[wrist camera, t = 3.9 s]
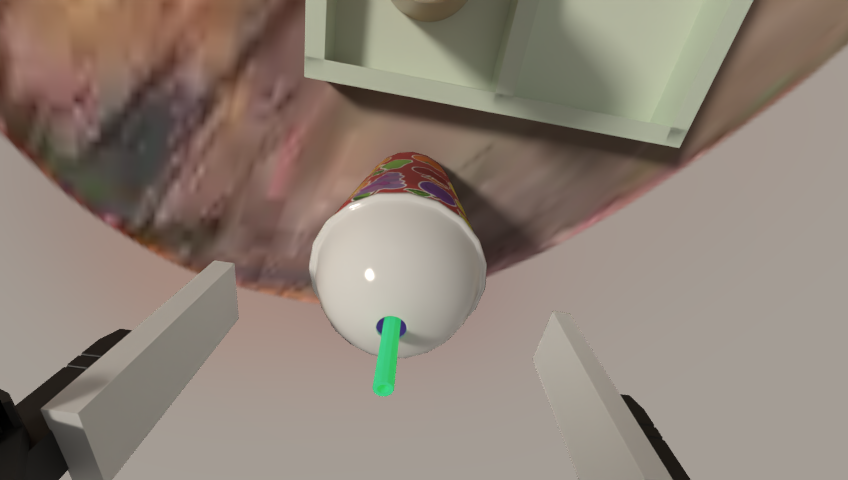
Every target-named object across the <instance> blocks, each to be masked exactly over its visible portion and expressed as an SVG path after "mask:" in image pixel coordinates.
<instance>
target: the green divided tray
mask: <svg viewBox="0 0 848 480" xmlns="http://www.w3.org/2000/svg"><path fill="white" fill-rule="evenodd" d="M752 2H753V0H468V1H467V2H466V4H465V5H464V6H463V7H462V8H461V9H460V10H459V11H458V12H456V13H455V14H454V15H452V16H450V17H448V18H446V19H444V20H441V21H436V22H421V21H418V20H414V19H412V18H410V17H408V16H406V15H405V14H403V13H402V12H401V11H400V10H399V9H397V7H396V6H395V5H394V4H393V3H392V1H391V0H306V13H305V72H304V77H307V78H313V79H318V80H323V81H329V82H334V83H339V84H344V85H350V86H355V87H360V88H365V89H371V90H376V91H381V92H387V93H392V94H397V95H402V96H408V97H413V98H418V99H423V100H429V101H434V102H439V103H444V104H450V105H455V106H460V107H466V108H471V109H476V110H481V111H487V112H492V113H497V114H502V115H508V116H513V117H518V118H524V119H529V120H534V121H539V122H545V123H550V124H555V125H560V126H566V127H571V128H576V129H581V130H587V131H592V132H597V133H603V134H608V135H613V136H618V137H624V138H629V139H634V140H639V141H645V142H650V143H655V144H660V145H666V146H671V147H676V148H680V146H681V144H682V142H683V140H684V138H685V136H686V134H687V132H688V130H689V128H690V126H691V124H692V122H693V120H694V118H695V116H696V114H697V112H698V110H699V108H700V106H701V104H702V102H703V100H704V98H705V96H706V94H707V92H708V90H709V88H710V86H711V84H712V82H713V80H714V78H715V76H716V74H717V72H718V70H719V68H720V66H721V64H722V62H723V60H724V58H725V56H726V54H727V52H728V50H729V48H730V46H731V44H732V42H733V40H734V38H735V36H736V34H737V32H738V30H739V28H740V26H741V24H742V22H743V20H744V18H745V16H746V14H747V12H748V10H749V8H750V6H751V4H752Z"/></svg>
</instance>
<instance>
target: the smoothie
mask: <svg viewBox="0 0 848 480" xmlns="http://www.w3.org/2000/svg"><path fill="white" fill-rule="evenodd" d="M486 269H487V263H486V260H485V257H484V253H483V250H482V247H481V243H480V240H479V239H478V238H477V236H476V235H475V234H474V232H473V229H472V227H471V225H470V223H469V221H468V219H467V217H466V214H465V212H464V210H463V208H462V206H461V204H460V201H459V199H458V197H457V195H456V193H455V191H454V189H453V186H452V184H451V182H450V180H449V178H448V176H447V174H446V172H445V171H444V170H443V168H442V167H441V166H440V165H439V163H437V162H436V161H434V160H433V159H431V158H429V157H428V156H426V155H422V154H418V153H415V152H406V153H398V154H395V155H393V156H390V157H387V158H386V159H385V160H383V161H382V162H381V163H380V164H379V165H377V166H376V168H375V169H374V170H373V171H372V172H371V173H370V174H369V176H368V177H367V178H366V179H365V180H364V181H363V182H362V184H361V185H360V186H359V187H358V188H357V189H356V190H355V192H354V193H353V194H352V195H351V196H350V197H349V198H348V200H347V201H346V202H345V203H344V204H343V205H342V206H341V208H340V209H339V210H338V211H337V212H336V213H335V214H334V215H333V216H332V217H331V218H329V219H328V220H327V221H326V223H325V224H324V226H323V227H322V229H321V231H320V232H319V234H318V236H317V237H316V239H315V241H314V242H313V246H312V252H311V257H310V263H309V271H310V276H311V281H312V286H313V290H314V292H315V294H316V296H317V297H318V299H319V301H320V304H321V308H322V309H323V311H324V313H325V315H326V316H327V318H328V320H329V321H330V323H331V325H332V326H333V328H334V329H335V331H336V332H338V333H339V334H340V335H341V336H342V337H343V338H344V339H345V340H347V341H348V342H349V343H350V344H352V345H353V346H355V347H357V348H359V349H361V350H363V351H365V352H367V353H369V354H372V355H376V356H378V359H377V365H376V371H375V377H374V383H373V390H374V392H375V393H376V394H377V395H379V396H388V395H390V394H391V393H392V392H393V391H394V383H395V373H396V364H397V358H408V357H412V356H416V355H420V354H423V353H427V352H429V351H431V350H432V349H434V348H436V347H438V346H440V345H442V344H443V343H445V342H446V341H447V340H448V339H449V338H451V336H452V335H453V334H454V333H455V332H456V331H457V330H458V329H459V328H460V327H461V326H462V325H463V324H464V322H465V320H466V319H467V317H468V316H469V315H470V314H471V313H472V312H473V311H474V310H475V309H476V307H477V305H478V302H479V300H480V298H481V296H482V294H483V292H484V290H485V284H486Z"/></svg>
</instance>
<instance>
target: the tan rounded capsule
mask: <svg viewBox="0 0 848 480" xmlns="http://www.w3.org/2000/svg"><path fill="white" fill-rule="evenodd" d="M391 1H392V3H393V4H394V5H395V6H396V7H397V9H399V10H400V11H401V12H402V13H403V14H405V15H406V16H408V17H410V18H412V19H414V20H418V21H421V22H436V21H441V20H444V19H446V18H448V17H450V16H452V15H454V14H455V13H456V12H458V11H459V10H460V9H461V8H462V7H463V6H464V5H465V4H466V2H467V1H468V0H391Z"/></svg>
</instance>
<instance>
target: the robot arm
mask: <svg viewBox="0 0 848 480" xmlns="http://www.w3.org/2000/svg"><path fill="white" fill-rule="evenodd" d="M237 320H238V305H237V292H236V279H235V265H234V263H228V262H221V261H215V260H214V261H213V262H212V263H211V264H210V265H209V266H207V267H206V268H205V269H204V270H203V271H202V272H200V273H199V274H198V275H197V276H196V277H194V278H193V279H192V280H191V281H190V282H189V283H187V284H186V285H185V286H184V287H183V288H182V289H181V290H179V291H178V292H177V293H176V294H175V295H173V296H172V297H171V298H170V299H169V300H168V301H166V302H165V303H164V304H163V305H162V306H160V307H159V308H158V309H157V310H156V311H155V312H153V313H152V314H151V315H150V316H149V317H148V318H146V319H145V320H144V321H143V322H142V323H141V324H139V325H138V326H137V327H136V328H135V329H134V330H125V329H119V330H117V331H115V332H113V333H111V334H109V335H107V336H105V337H103V338H101V339H99V340H98V341H96V342H95V343H94V344H93V345H91V346H90V347H89V348H88V349H86V350H85V351H84V352H83V353H82V355H81V356H77V357H76V358H75V359H74V360H72V361H71V362H70V363H69V364H68V365H67V367H64V368H62V369H61V370H60V371H59V372H57V373H56V374H55V375H53V376H52V377H51V378H50V379H48V380H47V381H46V382H45V383H43V384H42V385H41V386H40V387H38V388H37V389H36V390H35V391H33V392H32V393H31V394H30V395H28V396H27V397H26V398H24V399H23V400H22V401H21V402H19V403H18V404H17V405H16V406H15V405H14V403H13V401H12V399H11V397H10V395H9V393H7V392H5V391H3V390H1V389H0V480H59V479H60V478H61V477H62V476H63V475H64V473H65V472H66V471H67V470H68V471H69V473H70V476H71V478H72V480H112V479H113V478H114V477H115V475H116V474H117V473H118V472H119V470H120V469H121V468H122V467H123V465H124V464H125V463H126V461H127V460H128V459H129V458H130V456H131V455H132V454H133V453H134V451H135V450H136V449H137V447H138V446H139V445H140V444H141V442H142V441H143V440H144V438H145V437H146V436H147V435H148V433H149V432H150V431H151V430H152V428H153V427H154V426H155V424H156V423H157V422H158V421H159V419H160V418H161V417H162V415H163V414H164V413H165V411H166V410H167V409H168V408H169V407H170V405H171V404H172V403H173V401H174V400H175V399H176V397H177V396H178V395H179V394H180V393H181V391H182V390H183V389H184V388H185V386H186V385H187V384H188V382H189V381H190V380H191V379H192V377H193V376H194V375H195V373H196V372H197V371H198V370H199V368H200V367H201V366H202V365H203V363H204V362H205V361H206V359H207V358H208V357H209V356H210V354H211V353H212V352H213V351H214V349H215V348H216V346H217V345H218V344H219V343H220V342H221V340H222V339H223V338H224V337H225V335H226V334H227V333H228V331H229V330H230V329H231V327H232V326H233V325H234V324H235V322H236V321H237ZM533 362H534V364H535V367H536V370H537V372H538V375H539V378H540V380H541V383H542V385H543V388H544V391H545V393H546V396H547V398H548V401H549V404H550V406H551V409H552V411H553V414H554V417H555V419H556V421H557V424H558V427H559V430H560V432H561V435H562V437H563V440H564V443H565V445H566V448H567V451H568V453H569V456H570V458H571V461H572V463H573V466H574V469H575V471H576V474H577V477H578V479H579V480H690V478H689V477H688V475H687V474H686V472H685V471H684V469H683V468H682V466H681V465H680V463H679V462H678V460H677V459H676V457H675V456H674V454H673V453H672V451H671V450H670V448H669V447H668V445H667V444H666V442H665V441H664V440H662V436H661V435H660V433H659V432H658V430H657V429H656V428H654V424H653V422H652V421H651V419H650V418H649V416H648V415H647V413H646V412H645V410H644V409H643V408H642V407H641V406H640V405H638V403H637V402H636V401H635V400H634V399H633V398H632V397H630V396H629V395H621V394H619V392H618V390H617V389H616V387H615V386H614V384H613V382H612V381H611V379H610V377H609V376H608V374H607V373H606V371H605V370H604V368H603V366H602V365H601V363H600V361H599V360H598V358H597V357H596V355H595V353H594V352H593V350H592V348H591V347H590V346H589V344H588V342H587V340H586V339H585V337H584V335H583V334H582V332H581V331H580V329H579V327H578V326H577V324H576V323H575V321H574V319H573V318H572V316H571V314H570V313H563V312H556V311H552V314H551V316H550V318H549V321H548V323H547V326H546V328H545V331H544V333H543V335H542V338H541V340H540V343H539V345H538V348H537V350H536V352H535V354H534V357H533Z"/></svg>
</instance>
